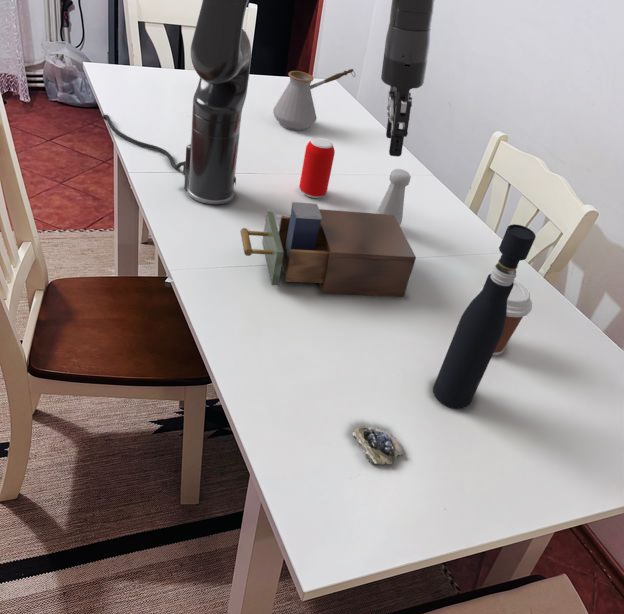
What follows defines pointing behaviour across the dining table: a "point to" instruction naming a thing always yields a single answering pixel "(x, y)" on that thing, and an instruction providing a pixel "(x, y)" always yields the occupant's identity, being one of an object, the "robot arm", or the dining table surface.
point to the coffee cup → (514, 313)
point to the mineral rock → (378, 444)
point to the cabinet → (365, 254)
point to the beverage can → (317, 167)
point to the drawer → (300, 261)
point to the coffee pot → (300, 101)
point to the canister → (302, 227)
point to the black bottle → (481, 325)
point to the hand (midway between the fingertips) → (393, 146)
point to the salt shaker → (395, 195)
